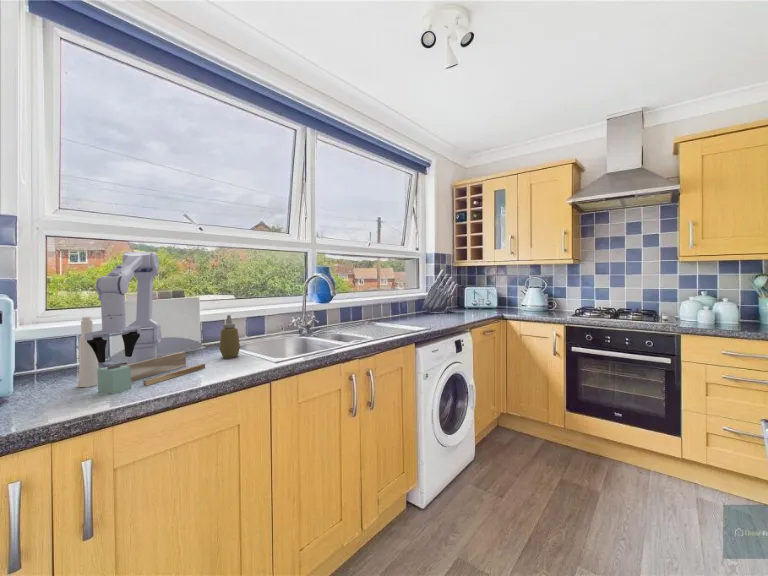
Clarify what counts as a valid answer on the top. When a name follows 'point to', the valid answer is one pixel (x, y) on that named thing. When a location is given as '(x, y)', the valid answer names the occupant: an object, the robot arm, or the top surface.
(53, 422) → the top surface
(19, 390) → the top surface
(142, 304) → the robot arm
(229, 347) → the squeeze bottle
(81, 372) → the cosmetic bottle
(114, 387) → the teal box
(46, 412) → the top surface
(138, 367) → the cleat board
